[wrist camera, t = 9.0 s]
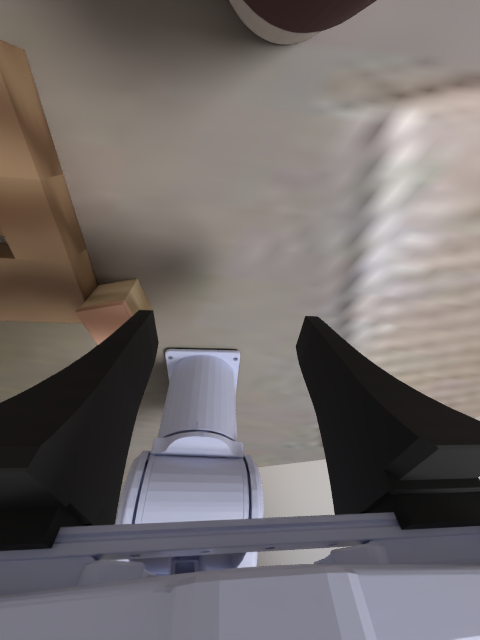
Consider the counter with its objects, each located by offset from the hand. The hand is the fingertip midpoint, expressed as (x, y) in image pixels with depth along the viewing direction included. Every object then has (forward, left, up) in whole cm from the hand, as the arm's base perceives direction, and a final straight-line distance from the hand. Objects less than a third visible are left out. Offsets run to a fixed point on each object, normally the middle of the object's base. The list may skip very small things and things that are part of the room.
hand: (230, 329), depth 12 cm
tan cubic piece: (-5, +9, -10) cm, 14 cm away
